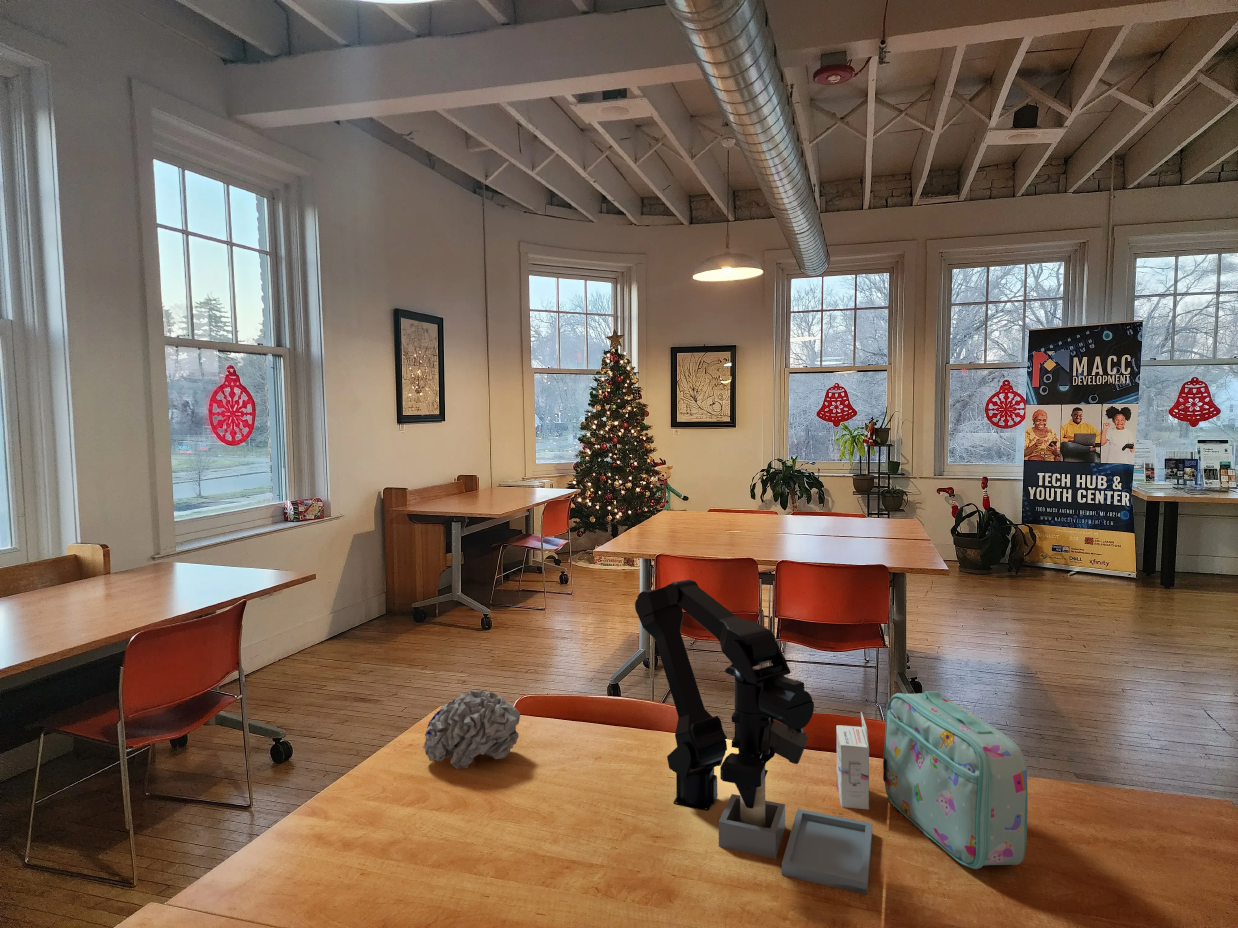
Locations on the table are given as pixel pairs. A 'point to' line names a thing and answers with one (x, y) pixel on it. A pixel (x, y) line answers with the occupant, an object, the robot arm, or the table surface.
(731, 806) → the grey square bin
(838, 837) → the tray
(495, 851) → the table surface
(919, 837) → the table surface
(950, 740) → the lunch box
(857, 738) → the ink cartridge box
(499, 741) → the educational model
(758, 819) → the dowel
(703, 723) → the robot arm
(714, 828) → the table surface
